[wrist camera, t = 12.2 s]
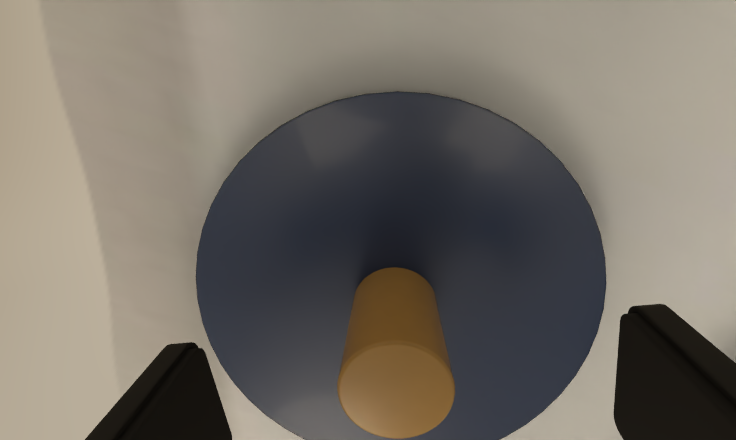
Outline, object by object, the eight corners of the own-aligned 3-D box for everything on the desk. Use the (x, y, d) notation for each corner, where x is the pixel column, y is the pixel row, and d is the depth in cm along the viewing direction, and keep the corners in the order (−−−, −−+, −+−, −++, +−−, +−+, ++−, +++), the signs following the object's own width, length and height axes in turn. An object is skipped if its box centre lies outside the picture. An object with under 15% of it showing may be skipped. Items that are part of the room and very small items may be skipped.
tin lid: (162, 124, 14) (22, 141, 9) (596, 60, 13) (745, 33, 7) (254, 450, 18) (196, 597, 13) (588, 429, 17) (679, 584, 11)
